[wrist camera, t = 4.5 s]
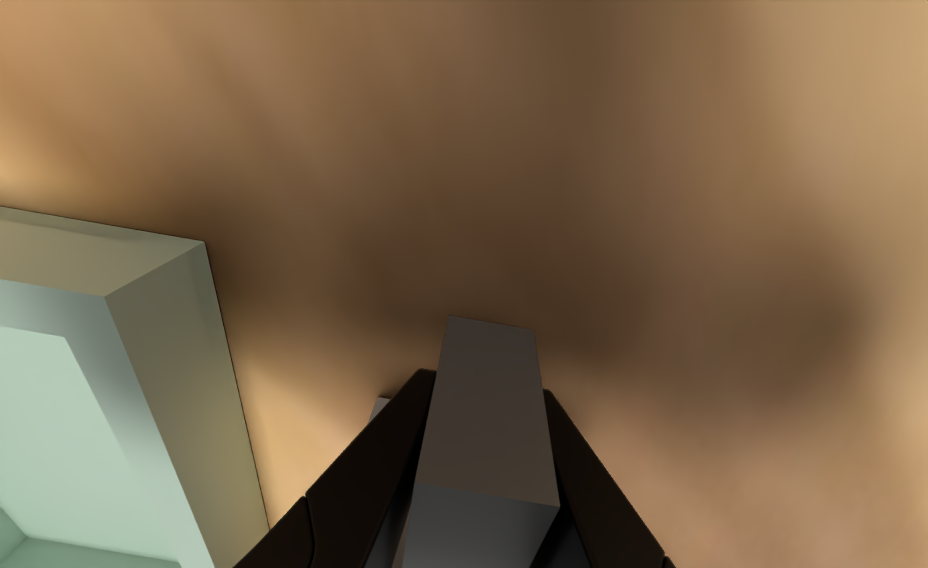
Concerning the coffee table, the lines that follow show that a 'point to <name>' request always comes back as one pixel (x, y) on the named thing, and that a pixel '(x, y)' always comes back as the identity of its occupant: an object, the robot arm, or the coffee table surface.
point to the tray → (117, 403)
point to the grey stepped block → (482, 455)
